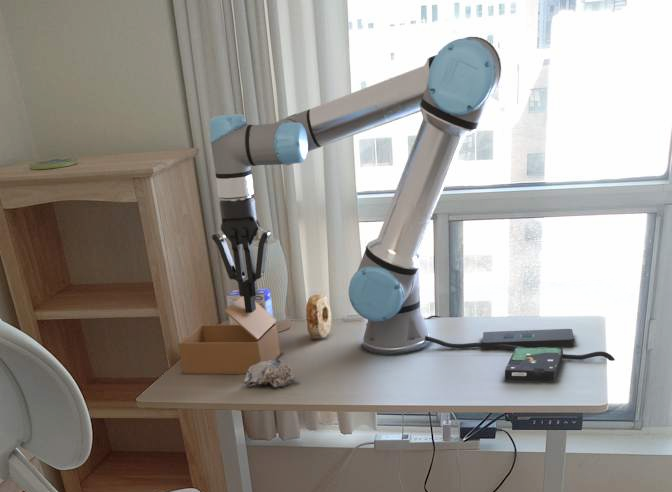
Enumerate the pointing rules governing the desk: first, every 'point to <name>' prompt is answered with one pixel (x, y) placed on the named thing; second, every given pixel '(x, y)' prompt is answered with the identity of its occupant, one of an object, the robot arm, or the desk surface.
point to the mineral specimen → (269, 374)
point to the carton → (226, 349)
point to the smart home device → (529, 338)
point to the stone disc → (318, 316)
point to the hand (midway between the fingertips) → (250, 310)
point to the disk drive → (534, 364)
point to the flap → (250, 318)
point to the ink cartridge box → (261, 298)
